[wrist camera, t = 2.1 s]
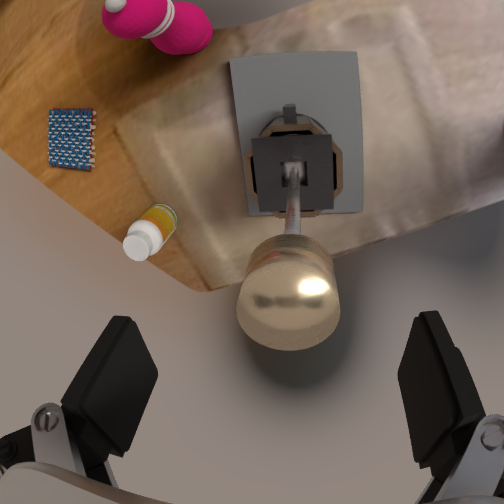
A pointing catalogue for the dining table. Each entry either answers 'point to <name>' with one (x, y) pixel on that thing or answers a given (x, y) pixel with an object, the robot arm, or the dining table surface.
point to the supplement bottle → (150, 232)
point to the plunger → (289, 282)
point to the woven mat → (71, 138)
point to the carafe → (293, 150)
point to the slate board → (304, 107)
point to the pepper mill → (159, 24)
